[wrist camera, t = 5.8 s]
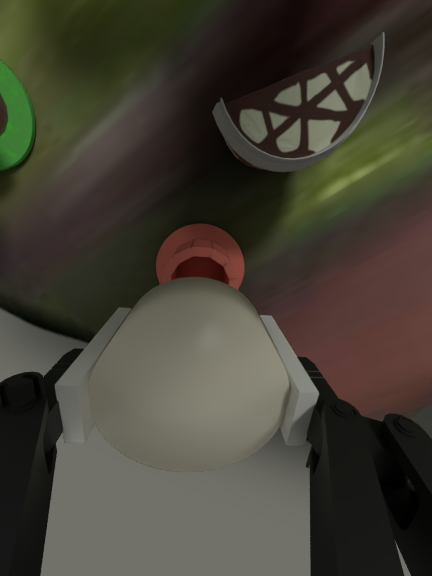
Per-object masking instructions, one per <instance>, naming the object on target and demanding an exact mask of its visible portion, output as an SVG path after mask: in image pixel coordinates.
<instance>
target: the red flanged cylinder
mask: <svg viewBox="0 0 432 576" xmlns="http://www.w3.org/2000/svg"><path fill="white" fill-rule="evenodd" d="M156 273H157V278H158V281H159V283H160V284H162V283H165V282H167V281H170V280H174V279H178V278H184V277H204V278H210V279H214V280H218V281H221V282H223V283H226V284H228V285H230V286H231V287H233V288H235V289H236V290H238V289H239V287H240V285H241V283H242V280H243V276H244V259H243V255H242V252H241V249H240V248H239V246H238V244H237V243H236V241H235V240H234V239H233V238H232V237H231V236H230V235H229V234H228V233H227V232H226V231H224V230H222V229H221V228H218V227H216V226H213V225H210V224H202V223H197V224H190V225H187V226H184V227H181V228H179V229H178V230H176V231H175V232H173V233H172V234H171V235H170V236H169V237H168V238H167V239H166V240H165V241H164V243H163V244H162V246H161V248H160V250H159V252H158V255H157V260H156Z"/></svg>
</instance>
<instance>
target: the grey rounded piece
mask: <svg viewBox="0 0 432 576" xmlns="http://www.w3.org/2000/svg"><path fill="white" fill-rule="evenodd" d="M88 392H89V401H90V409H91V415H92V418H93V420H94V423H95V424H96V426H97V428H98V430H99V431H100V433H101V434H102V435H103V436H104V438H105V439H106V440H107V441H108V442H109V443H110V444H111V445H112V446H113V447H114V448H116V449H117V450H118V451H120V452H121V453H123V454H124V455H126V456H127V457H129V458H131V459H132V460H135V461H137V462H139V463H141V464H144V465H147V466H150V467H153V468H157V469H161V470H166V471H173V472H201V471H209V470H213V469H218V468H222V467H225V466H228V465H231V464H234V463H236V462H238V461H241V460H243V459H244V458H246V457H248V456H250V455H251V454H253V453H254V452H256V451H257V450H259V449H260V448H261V447H262V446H263V445H265V444H266V443H267V442H268V441H269V440H270V439H271V437H272V436H273V435H274V434H275V433H276V431H277V430H278V428H279V427H280V425H281V423H282V421H283V419H284V417H285V412H286V408H287V404H288V400H289V395H290V388H289V381H288V376H287V373H286V370H285V367H284V365H283V363H282V361H281V359H280V357H279V355H278V353H277V351H276V349H275V347H274V345H273V343H272V341H271V339H270V337H269V335H268V333H267V331H266V329H265V327H264V325H263V323H262V321H261V319H260V317H259V315H258V313H257V311H256V310H255V308H254V306H253V305H252V304H251V302H250V301H249V300H248V299H247V298H246V297H245V296H244V295H243V294H242V293H240V292H239V291H238V290H236V289H235V288H233V287H231V286H230V285H228V284H226V283H223V282H221V281H218V280H214V279H210V278H204V277H184V278H178V279H174V280H170V281H167V282H165V283H162V284H160V285H158V286H156V287H155V288H153V289H151V290H150V291H149V292H147V293H146V294H145V295H144V296H143V297H142V298H141V299H140V300H139V301H138V302H137V303H136V305H135V306H134V307H133V309H132V310H131V312H130V313H129V315H128V316H127V318H126V319H125V321H124V322H123V324H122V325H121V327H120V328H119V330H118V331H117V332H116V334H115V335H114V337H113V338H112V340H111V341H110V343H109V344H108V346H107V347H106V349H105V350H104V352H103V353H102V355H101V356H100V358H99V359H98V361H97V363H96V365H95V367H94V369H93V371H92V374H91V377H90V380H89V387H88Z"/></svg>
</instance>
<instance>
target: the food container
mask: <svg viewBox="0 0 432 576" xmlns="http://www.w3.org/2000/svg"><path fill="white" fill-rule="evenodd" d="M383 56H384V32H383V33H382V34H381V35H380V36H379V37H377V38H376V39H375V40H374V41H373V42H372V43H371V44H370V45H368V46H367V47H364V48H361V49H359V50H357V51H355V52H353V53H351V54H348V55H346V56H343V57H341V58H338V59H335V60H333V61H330V62H327V63H325V64H322V65H319V66H316V67H313V68H310V69H307V70H305V71H302V72H299V73H296V74H294V75H292V76H290V77H288V78H285V79H283V80H281V81H279V82H276V83H274V84H272V85H270V86H267V87H265V88H263V89H260V90H258V91H255V92H253V93H250V94H248V95H245V96H243V97H240V98H238V99H235V100H233V101H231V102H228V103H226V104H224V102H223V99H222V98H221V99H220V102H219V103H217V104H216V106H215V108H214V110H213V112H212V113H213V115H214V118H215V121H216V123H217V126H218V127H219V129H220V131H221V133H222V135H223V137H224V139H225V142H226V145H227V147H228V148H229V149H230V151H231V152H232V154H233V155H234V156H235V158H236V159H238V160H239V161H240V162H242V163H243V164H245V165H246V166H248V167H252V168H255V169H258V170H263V169H266V170H270V171H275V172H290V171H297V170H300V169H304V168H307V167H309V166H312V165H314V164H316V163H318V162H319V161H321V160H322V159H324V158H325V157H327V156H328V155H330V154H331V153H332V152H333V151H334V150H335V149H336V148H337V147H338V146H339V145H340V144H341V143H343V142H344V141H345V140H346V139H347V137H348V136H349V135H350V134H351V133H352V132H353V130H354V129H355V128H356V126H357V125H358V123H359V122H360V120H361V119H362V117H363V116H364V114H365V112H366V110H367V108H368V106H369V104H370V102H371V100H372V98H373V96H374V93H375V90H376V87H377V85H378V82H379V78H380V74H381V69H382V65H383Z"/></svg>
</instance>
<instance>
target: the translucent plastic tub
mask: <svg viewBox="0 0 432 576" xmlns="http://www.w3.org/2000/svg"><path fill="white" fill-rule="evenodd" d="M35 131H36V125H35V116H34V111H33V107H32V104H31V101H30V99H29V97H28V94H27V92H26V90H25V89H24V87H23V85H22V84H21V82H20V81H19V79H18V78H17V77H16V75H15V74H14V73H13V72H12V71H11V70H10V69H9V68H8V67H7V66H6V65H5V64H4V63H3V62H2V61H1V60H0V171H1V170H6V169H10V168H12V167H15V166H16V165H18V164H19V163H21V162H22V161H23V160H24V159H25V158H26V157H27V155H28V154H29V152H30V150H31V148H32V146H33V143H34V139H35Z"/></svg>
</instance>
